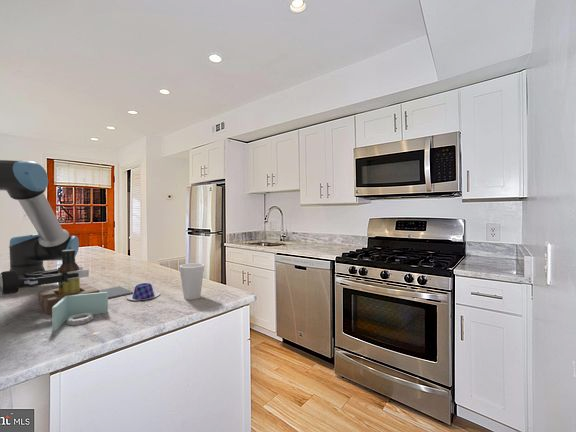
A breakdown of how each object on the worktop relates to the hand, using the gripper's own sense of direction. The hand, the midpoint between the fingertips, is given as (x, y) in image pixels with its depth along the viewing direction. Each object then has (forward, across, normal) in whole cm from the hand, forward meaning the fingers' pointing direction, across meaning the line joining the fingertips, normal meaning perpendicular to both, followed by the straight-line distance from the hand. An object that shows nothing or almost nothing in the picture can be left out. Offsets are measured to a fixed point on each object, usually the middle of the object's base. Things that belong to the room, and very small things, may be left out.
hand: (85, 271), depth 110 cm
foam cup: (+29, +28, -12) cm, 42 cm away
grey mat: (+10, -4, -12) cm, 16 cm away
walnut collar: (-5, 0, -12) cm, 13 cm away
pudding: (+17, +11, -12) cm, 24 cm away
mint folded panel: (-7, +21, -12) cm, 26 cm away
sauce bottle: (-5, 0, -11) cm, 12 cm away
